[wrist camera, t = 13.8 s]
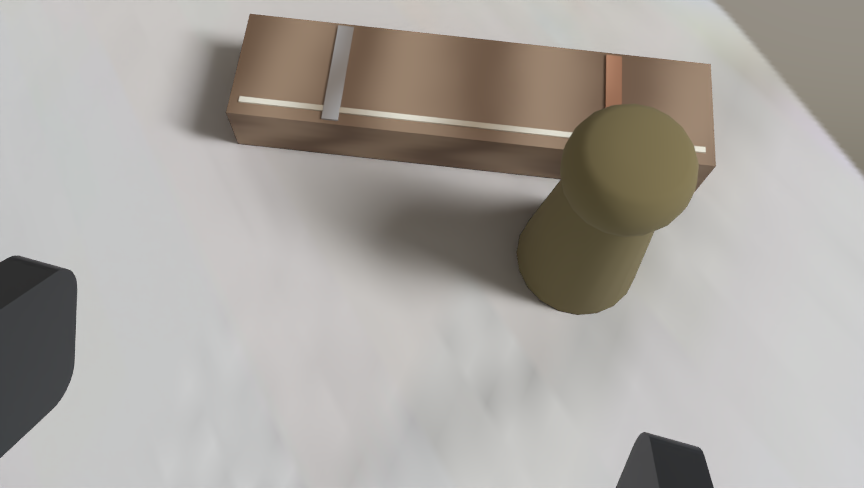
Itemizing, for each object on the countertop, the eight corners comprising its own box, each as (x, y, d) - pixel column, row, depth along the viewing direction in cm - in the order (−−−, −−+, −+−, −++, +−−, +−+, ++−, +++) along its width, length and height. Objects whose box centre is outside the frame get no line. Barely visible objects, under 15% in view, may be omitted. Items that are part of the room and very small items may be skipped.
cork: (660, 275, 37) (757, 171, 27) (563, 337, 36) (628, 252, 26) (587, 183, 39) (653, 53, 29) (493, 239, 38) (526, 123, 28)
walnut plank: (238, 143, 39) (225, 111, 36) (259, 49, 42) (249, 12, 39) (693, 193, 39) (716, 164, 36) (689, 96, 41) (711, 62, 39)
